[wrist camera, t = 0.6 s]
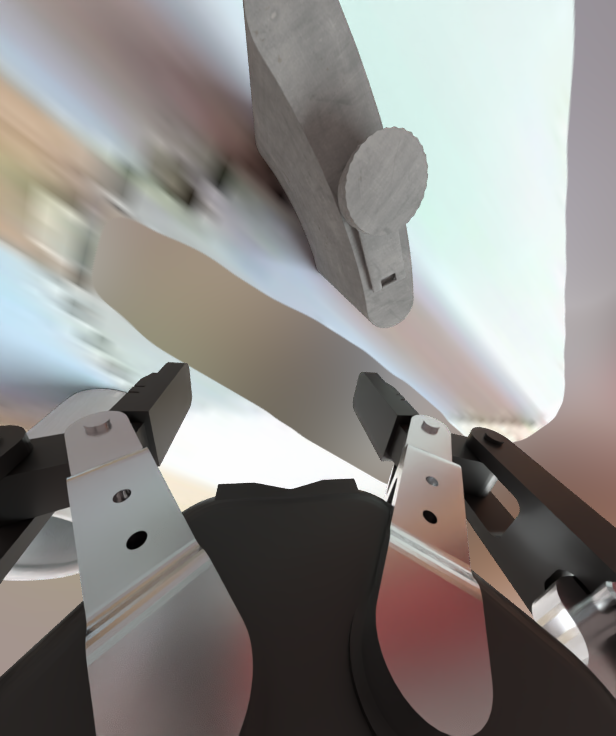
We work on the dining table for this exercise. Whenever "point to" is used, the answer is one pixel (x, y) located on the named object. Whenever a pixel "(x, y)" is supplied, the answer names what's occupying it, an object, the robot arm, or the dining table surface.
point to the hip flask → (335, 152)
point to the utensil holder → (56, 539)
